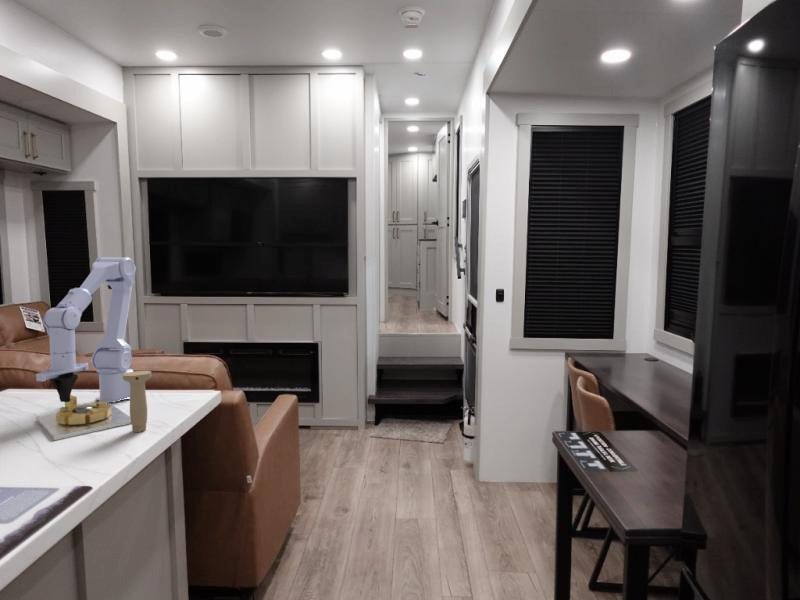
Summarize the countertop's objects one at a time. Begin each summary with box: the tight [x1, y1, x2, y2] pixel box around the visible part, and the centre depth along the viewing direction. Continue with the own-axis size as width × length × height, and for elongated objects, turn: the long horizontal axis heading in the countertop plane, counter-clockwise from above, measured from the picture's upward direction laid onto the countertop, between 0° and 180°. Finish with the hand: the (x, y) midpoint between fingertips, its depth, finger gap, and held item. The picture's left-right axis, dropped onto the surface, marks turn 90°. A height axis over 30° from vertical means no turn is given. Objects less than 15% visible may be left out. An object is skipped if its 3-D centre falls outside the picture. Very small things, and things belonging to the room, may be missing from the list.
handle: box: [123, 370, 152, 433], centre depth 128 cm, size 5×6×15 cm
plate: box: [35, 403, 131, 441], centre depth 134 cm, size 18×20×4 cm
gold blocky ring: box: [55, 394, 112, 425], centre depth 135 cm, size 14×12×5 cm
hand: (65, 401), depth 136 cm, fingers closed, pressing on gold blocky ring
